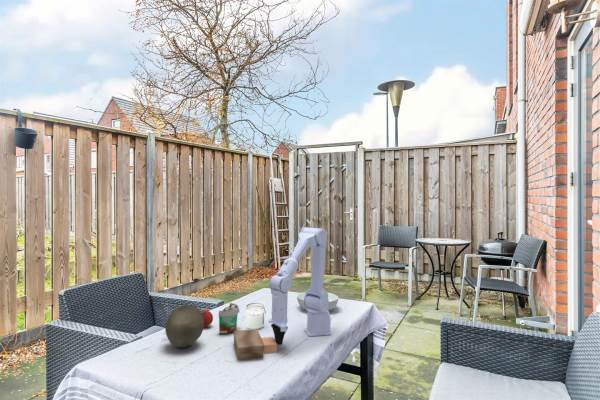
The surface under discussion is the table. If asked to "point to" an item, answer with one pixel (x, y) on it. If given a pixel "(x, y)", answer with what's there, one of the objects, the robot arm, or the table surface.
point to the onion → (207, 317)
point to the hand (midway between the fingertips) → (278, 344)
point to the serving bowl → (331, 297)
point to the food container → (228, 319)
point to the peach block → (269, 345)
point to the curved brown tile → (248, 344)
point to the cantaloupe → (184, 325)
